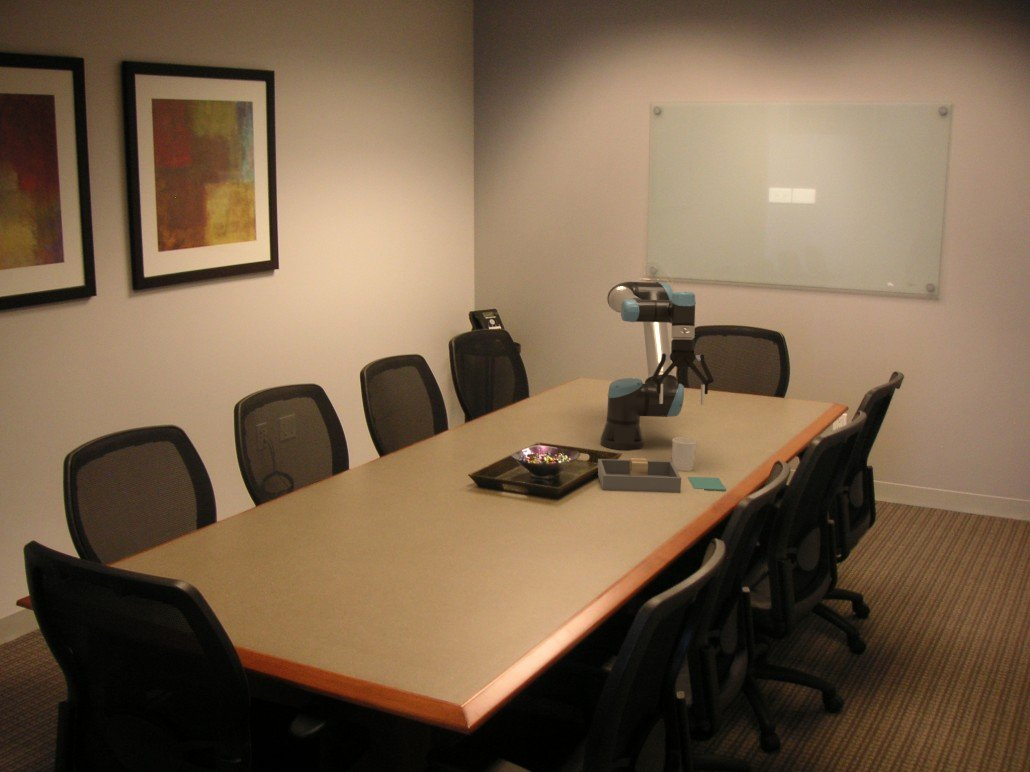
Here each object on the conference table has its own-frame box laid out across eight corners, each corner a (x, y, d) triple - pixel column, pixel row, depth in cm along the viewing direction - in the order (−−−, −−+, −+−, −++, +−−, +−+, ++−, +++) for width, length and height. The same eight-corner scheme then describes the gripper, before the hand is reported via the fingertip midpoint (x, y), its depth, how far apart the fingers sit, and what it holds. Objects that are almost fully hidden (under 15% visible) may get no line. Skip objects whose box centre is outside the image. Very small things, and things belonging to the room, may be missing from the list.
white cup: (693, 473, 359) (696, 444, 357) (669, 471, 360) (671, 442, 358) (694, 467, 366) (697, 438, 364) (671, 464, 368) (673, 436, 366)
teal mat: (687, 478, 354) (687, 476, 354) (718, 479, 354) (718, 477, 354) (694, 490, 342) (694, 488, 342) (725, 491, 342) (726, 489, 342)
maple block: (628, 479, 349) (630, 458, 347) (644, 479, 349) (646, 458, 347) (630, 484, 344) (632, 462, 342) (646, 484, 344) (648, 463, 342)
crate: (597, 473, 355) (598, 458, 354) (671, 476, 356) (672, 461, 354) (602, 491, 337) (603, 475, 336) (680, 493, 338) (681, 478, 337)
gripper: (646, 338, 355) (645, 403, 355) (723, 339, 356) (722, 404, 356) (643, 339, 363) (642, 403, 363) (718, 340, 363) (717, 404, 363)
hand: (681, 404), depth 359 cm, fingers open, 13 cm apart
